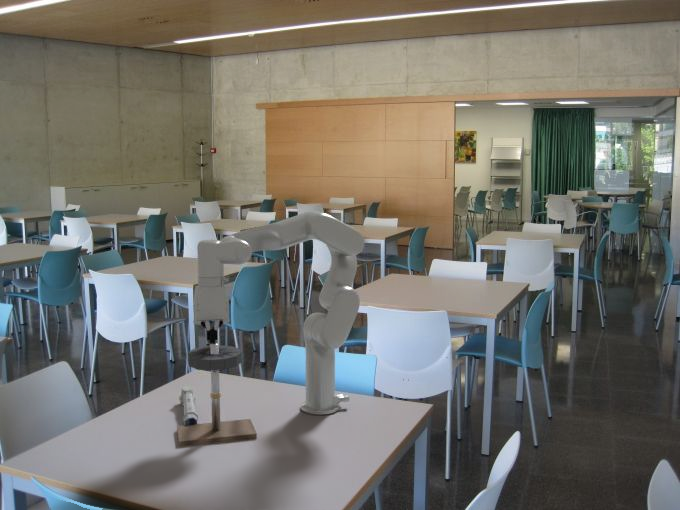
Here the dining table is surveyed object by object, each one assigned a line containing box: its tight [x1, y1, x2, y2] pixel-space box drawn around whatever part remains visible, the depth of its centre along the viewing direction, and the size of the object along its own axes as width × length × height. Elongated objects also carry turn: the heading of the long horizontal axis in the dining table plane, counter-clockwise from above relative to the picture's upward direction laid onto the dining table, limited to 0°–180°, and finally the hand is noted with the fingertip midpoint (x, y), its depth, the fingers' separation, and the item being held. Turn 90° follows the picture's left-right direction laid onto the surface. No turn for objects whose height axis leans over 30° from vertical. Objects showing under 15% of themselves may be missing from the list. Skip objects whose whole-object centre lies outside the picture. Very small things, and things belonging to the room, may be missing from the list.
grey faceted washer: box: [187, 344, 243, 371], centre depth 205 cm, size 15×15×3 cm
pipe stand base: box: [176, 418, 258, 448], centre depth 208 cm, size 22×12×2 cm, turn 106°
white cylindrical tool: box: [178, 385, 199, 425], centre depth 224 cm, size 5×7×25 cm
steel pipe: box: [209, 342, 221, 431], centre depth 206 cm, size 3×3×26 cm
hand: (212, 342), depth 210 cm, fingers closed
